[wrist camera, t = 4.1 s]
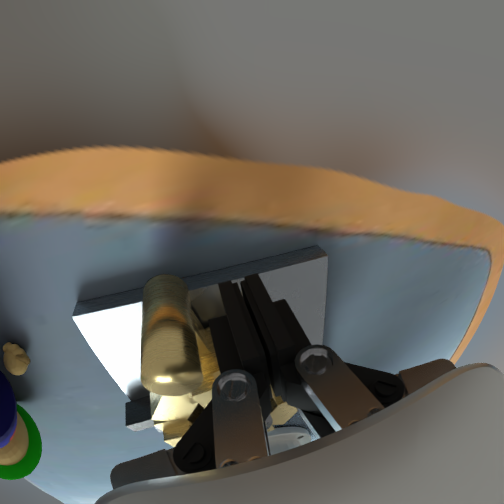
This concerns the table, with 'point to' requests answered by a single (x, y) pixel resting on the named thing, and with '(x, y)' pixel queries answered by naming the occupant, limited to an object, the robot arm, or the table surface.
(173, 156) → the table surface
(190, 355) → the ring nut
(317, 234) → the table surface
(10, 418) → the toy
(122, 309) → the base plate
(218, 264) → the table surface
